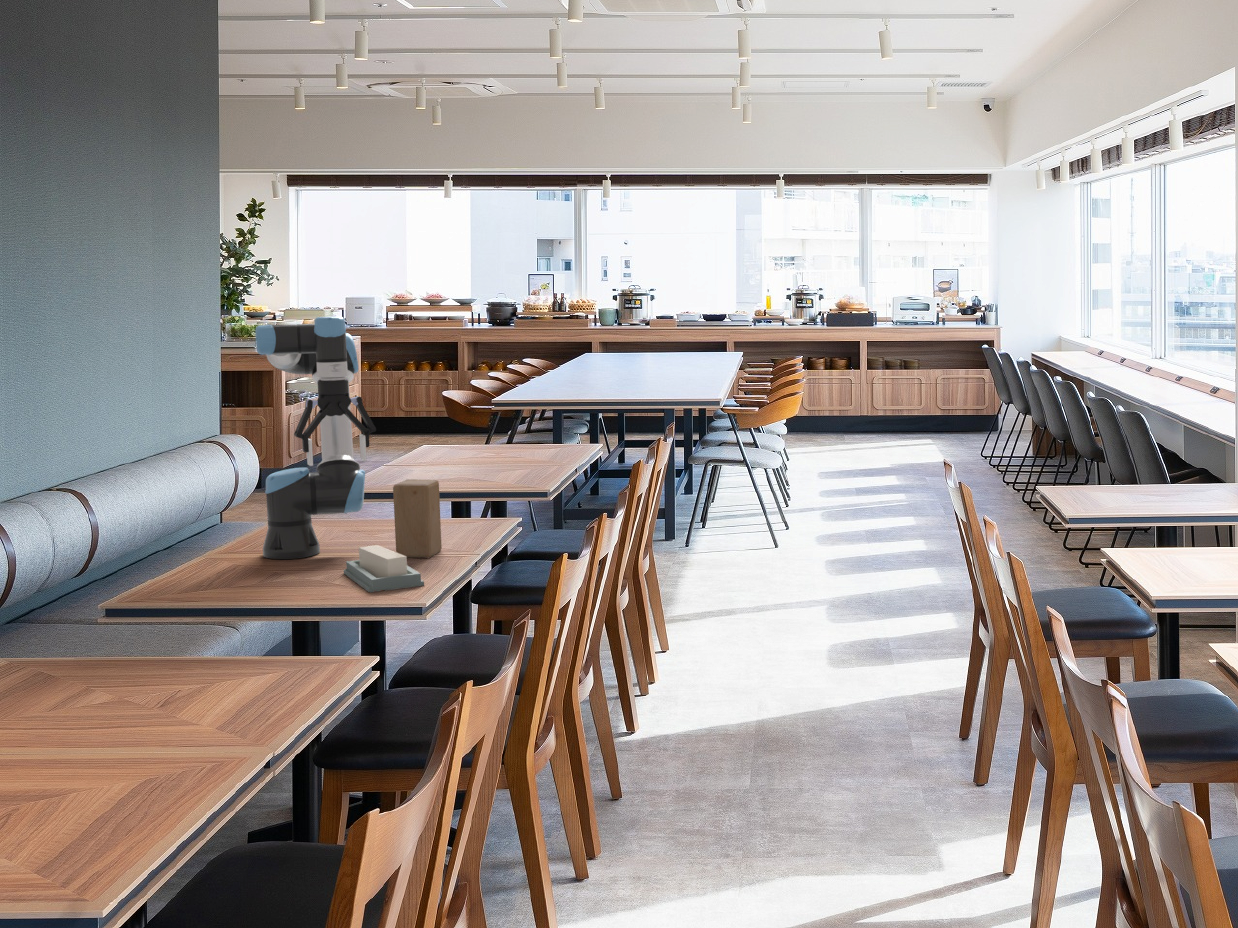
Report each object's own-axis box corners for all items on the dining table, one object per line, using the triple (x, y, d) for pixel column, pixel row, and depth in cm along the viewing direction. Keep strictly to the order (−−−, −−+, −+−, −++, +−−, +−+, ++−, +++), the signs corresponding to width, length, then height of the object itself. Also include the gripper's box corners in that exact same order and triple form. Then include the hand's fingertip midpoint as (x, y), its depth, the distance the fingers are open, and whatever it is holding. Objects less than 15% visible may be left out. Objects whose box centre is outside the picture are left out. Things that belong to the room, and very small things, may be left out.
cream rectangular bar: (359, 570, 314) (358, 547, 313) (378, 568, 317) (377, 544, 316) (388, 583, 299) (387, 559, 298) (407, 580, 302) (406, 556, 301)
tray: (343, 573, 316) (343, 561, 316) (395, 567, 322) (394, 555, 322) (369, 592, 295) (368, 580, 295) (424, 585, 301) (423, 573, 301)
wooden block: (430, 558, 332) (427, 484, 329) (394, 558, 334) (391, 484, 331) (443, 551, 341) (439, 479, 339) (408, 550, 343) (405, 478, 341)
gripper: (285, 382, 302) (291, 469, 305) (385, 376, 313) (389, 460, 316) (278, 380, 308) (284, 465, 312) (376, 375, 320) (380, 456, 323)
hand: (337, 462), depth 314 cm, fingers open, 13 cm apart
